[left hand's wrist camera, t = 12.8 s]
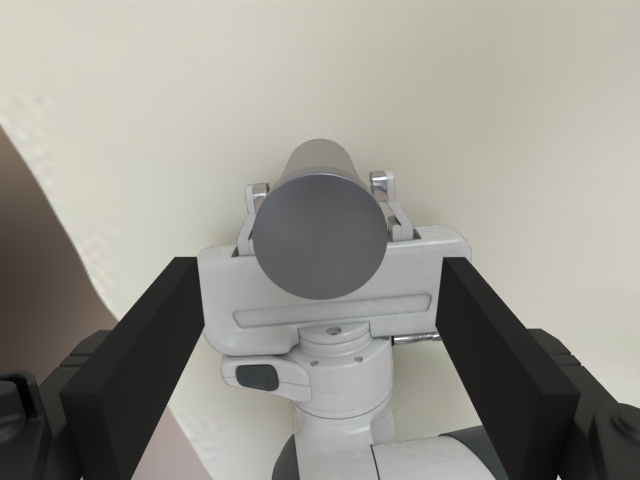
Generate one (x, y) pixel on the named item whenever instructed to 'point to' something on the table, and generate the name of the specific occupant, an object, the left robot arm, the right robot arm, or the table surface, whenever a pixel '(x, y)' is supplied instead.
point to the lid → (319, 233)
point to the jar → (319, 157)
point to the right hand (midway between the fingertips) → (318, 178)
